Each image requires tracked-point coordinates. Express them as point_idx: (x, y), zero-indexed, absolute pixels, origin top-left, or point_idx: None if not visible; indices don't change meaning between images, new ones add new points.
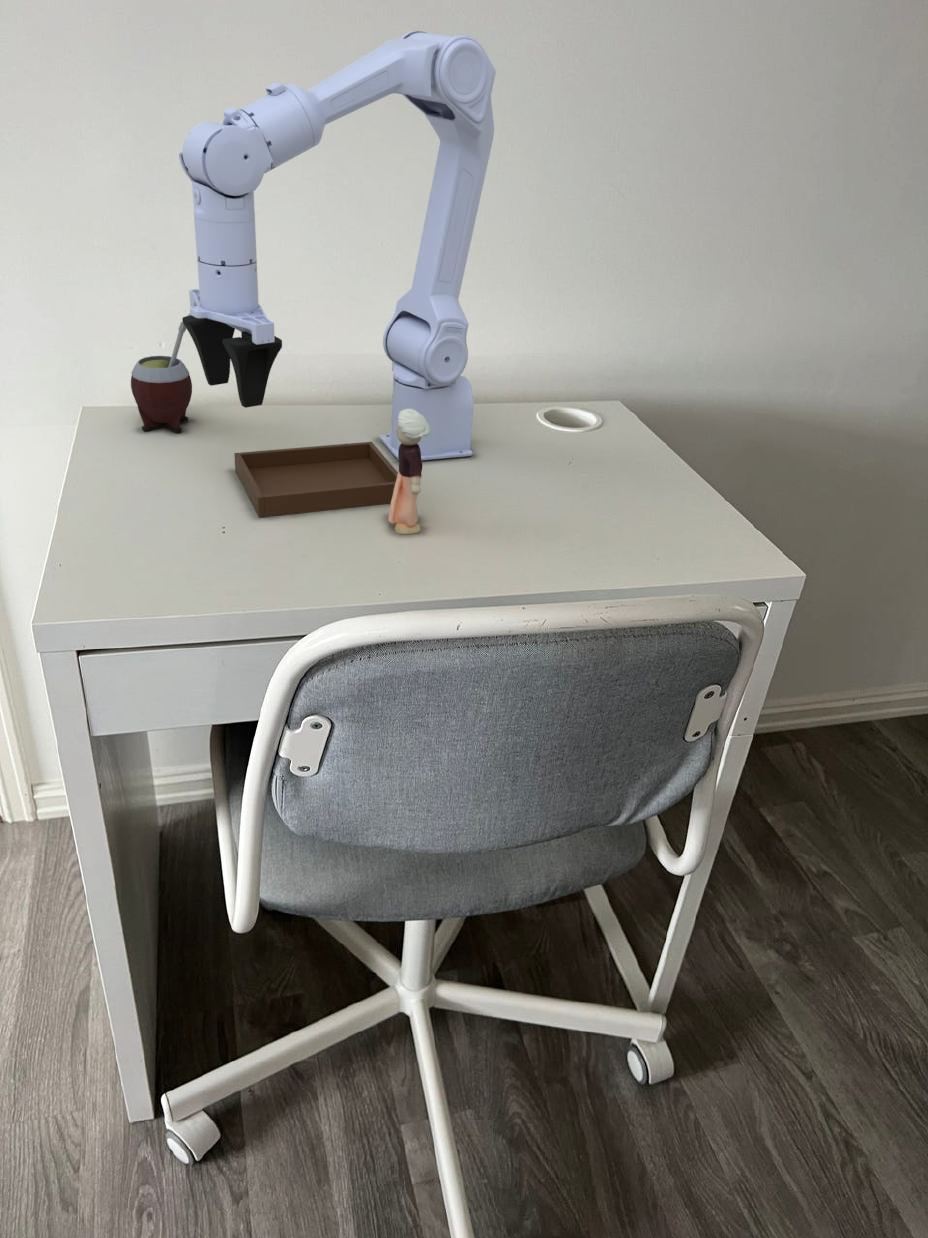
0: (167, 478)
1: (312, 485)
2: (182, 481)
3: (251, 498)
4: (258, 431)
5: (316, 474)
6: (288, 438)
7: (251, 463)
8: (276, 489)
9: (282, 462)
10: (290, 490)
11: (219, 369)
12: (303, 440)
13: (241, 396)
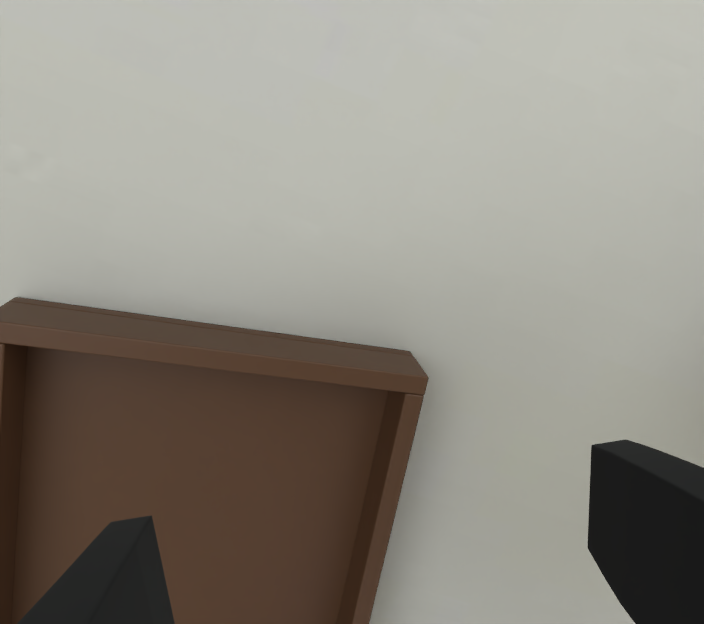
0: (461, 120)
1: (176, 530)
2: (414, 160)
3: (134, 319)
4: None
5: (254, 566)
6: (573, 573)
7: (387, 411)
8: (185, 419)
9: (365, 503)
10: (163, 457)
11: (652, 568)
12: (538, 606)
13: (79, 560)
